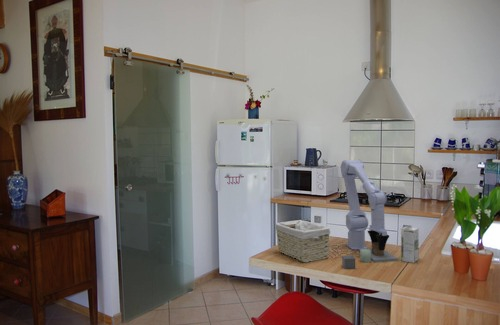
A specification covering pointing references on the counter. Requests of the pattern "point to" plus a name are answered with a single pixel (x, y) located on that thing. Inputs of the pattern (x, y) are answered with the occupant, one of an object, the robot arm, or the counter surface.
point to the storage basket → (303, 240)
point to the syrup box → (409, 244)
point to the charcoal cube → (348, 262)
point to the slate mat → (382, 257)
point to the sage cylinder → (365, 255)
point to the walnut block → (376, 249)
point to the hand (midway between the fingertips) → (378, 247)
